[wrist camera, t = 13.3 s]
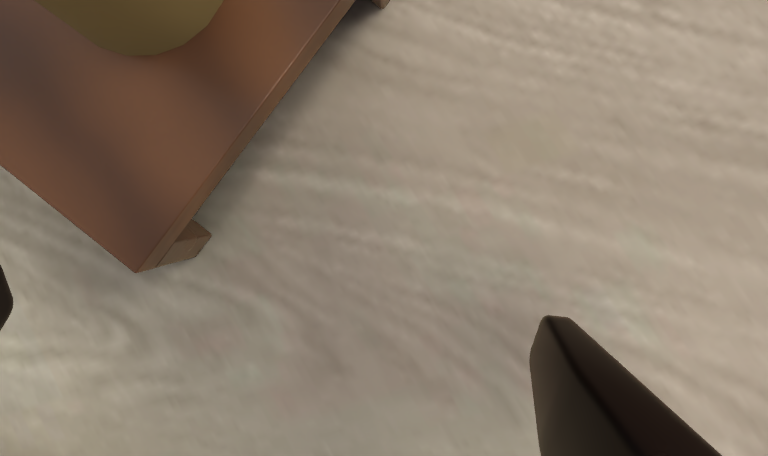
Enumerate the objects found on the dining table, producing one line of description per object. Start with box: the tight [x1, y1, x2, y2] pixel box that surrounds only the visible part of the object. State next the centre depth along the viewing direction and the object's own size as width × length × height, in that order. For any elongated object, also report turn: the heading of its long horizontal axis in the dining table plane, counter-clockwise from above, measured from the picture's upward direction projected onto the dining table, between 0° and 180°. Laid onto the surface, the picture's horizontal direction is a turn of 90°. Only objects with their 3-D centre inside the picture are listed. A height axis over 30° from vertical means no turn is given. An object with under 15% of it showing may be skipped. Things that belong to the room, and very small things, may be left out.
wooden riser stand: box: [0, 0, 390, 273], centre depth 18 cm, size 14×11×4 cm
